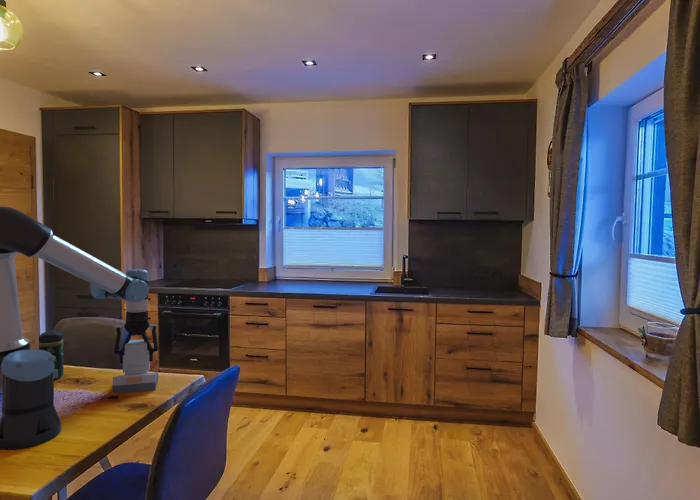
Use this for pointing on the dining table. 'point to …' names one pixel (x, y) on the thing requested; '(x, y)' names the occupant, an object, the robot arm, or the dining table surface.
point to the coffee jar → (53, 349)
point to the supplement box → (136, 357)
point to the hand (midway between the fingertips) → (136, 370)
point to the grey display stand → (135, 383)
